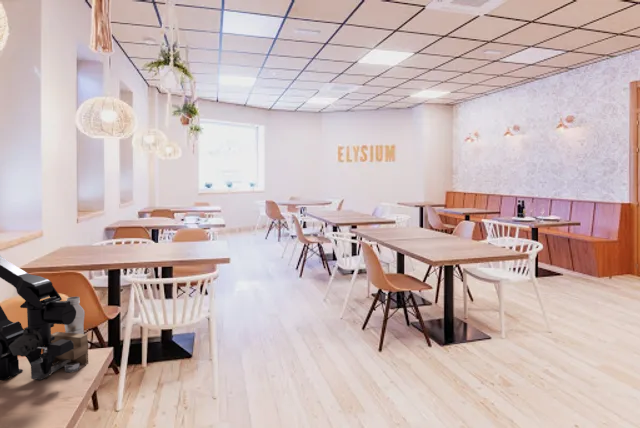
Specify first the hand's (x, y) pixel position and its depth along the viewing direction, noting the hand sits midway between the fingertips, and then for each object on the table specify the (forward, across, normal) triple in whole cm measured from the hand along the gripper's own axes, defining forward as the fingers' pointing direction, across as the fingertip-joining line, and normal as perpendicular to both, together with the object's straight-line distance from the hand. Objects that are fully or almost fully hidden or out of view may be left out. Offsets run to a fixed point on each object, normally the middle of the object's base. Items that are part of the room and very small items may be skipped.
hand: (41, 373), depth 130 cm
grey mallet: (+1, 0, +4) cm, 4 cm away
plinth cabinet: (+2, 0, +10) cm, 10 cm away
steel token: (+2, +4, +7) cm, 9 cm away
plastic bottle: (+2, -3, +16) cm, 17 cm away
